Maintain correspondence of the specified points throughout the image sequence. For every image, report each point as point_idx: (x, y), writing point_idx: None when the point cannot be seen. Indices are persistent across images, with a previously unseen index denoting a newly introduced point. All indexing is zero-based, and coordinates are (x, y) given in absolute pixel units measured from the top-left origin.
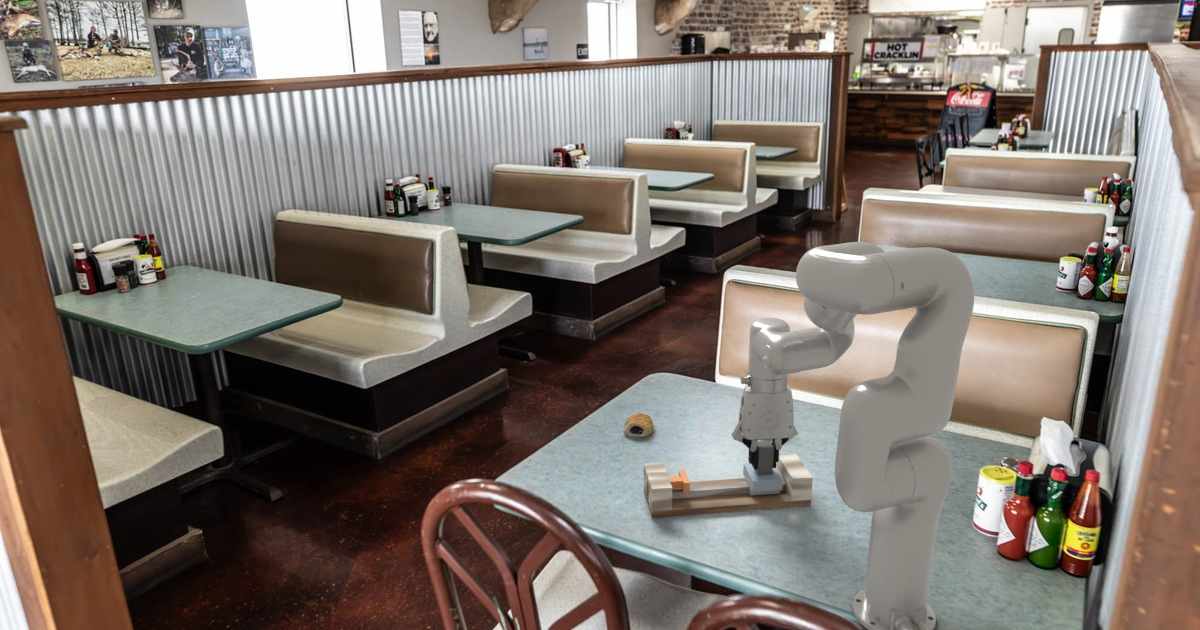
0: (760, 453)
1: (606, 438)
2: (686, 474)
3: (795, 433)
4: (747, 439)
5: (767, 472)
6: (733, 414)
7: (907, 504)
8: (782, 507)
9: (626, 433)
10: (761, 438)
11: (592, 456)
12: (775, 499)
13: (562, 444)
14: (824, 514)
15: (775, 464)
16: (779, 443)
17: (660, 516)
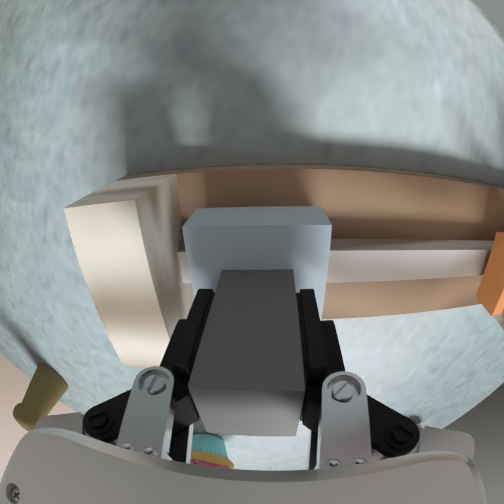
0: (290, 360)
1: (443, 414)
2: (501, 294)
3: (45, 427)
4: (390, 451)
5: (245, 276)
6: (240, 456)
7: None
8: (211, 167)
9: (419, 426)
10: (323, 486)
11: (485, 377)
12: (229, 189)
13: (488, 393)
14: (101, 134)
15: (198, 299)
16: (141, 406)
17: None
